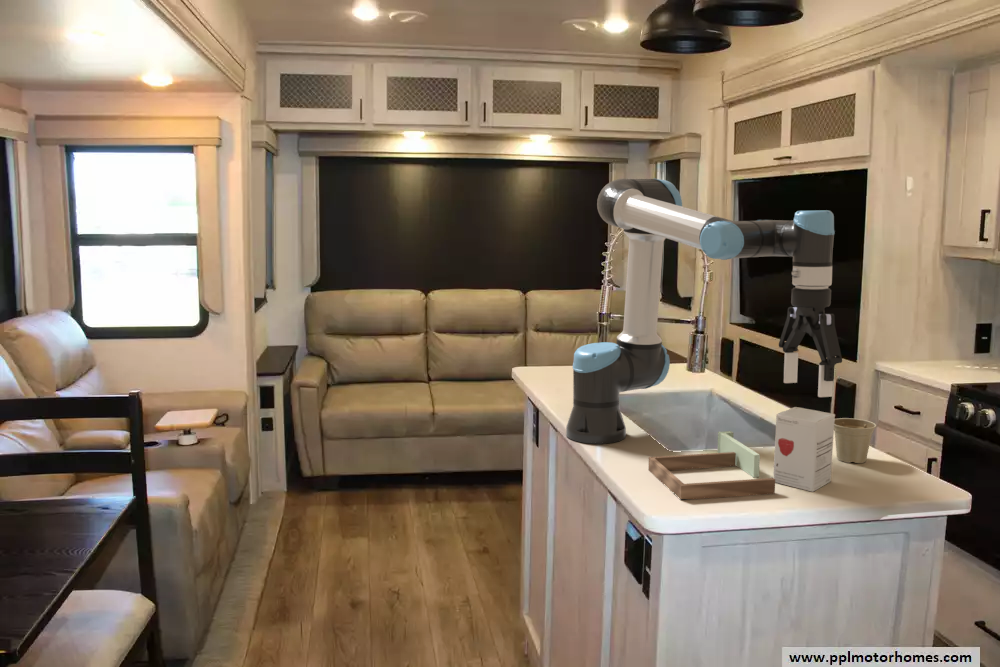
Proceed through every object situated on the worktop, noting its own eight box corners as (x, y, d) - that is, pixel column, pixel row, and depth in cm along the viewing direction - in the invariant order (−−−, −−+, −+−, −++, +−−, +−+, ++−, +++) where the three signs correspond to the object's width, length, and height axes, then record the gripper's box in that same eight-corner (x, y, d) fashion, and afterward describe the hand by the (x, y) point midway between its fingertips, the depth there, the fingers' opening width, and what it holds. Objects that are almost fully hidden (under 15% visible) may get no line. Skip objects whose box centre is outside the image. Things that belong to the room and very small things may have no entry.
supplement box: (771, 482, 170) (774, 413, 167) (791, 472, 176) (794, 405, 174) (813, 492, 163) (817, 421, 161) (832, 482, 169) (836, 413, 167)
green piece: (717, 452, 191) (718, 431, 190) (730, 451, 191) (730, 431, 190) (753, 477, 173) (754, 455, 172) (767, 476, 173) (768, 454, 172)
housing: (648, 470, 178) (648, 457, 178) (733, 464, 181) (733, 451, 181) (680, 500, 160) (681, 485, 159) (774, 493, 163) (775, 479, 162)
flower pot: (836, 451, 191) (838, 415, 189) (878, 458, 185) (881, 422, 183) (823, 460, 184) (825, 424, 182) (867, 468, 178) (869, 431, 176)
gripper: (764, 282, 175) (761, 378, 178) (828, 293, 150) (823, 403, 154) (796, 281, 176) (793, 376, 179) (865, 292, 152) (859, 401, 155)
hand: (807, 389), depth 166 cm, fingers open, 13 cm apart
